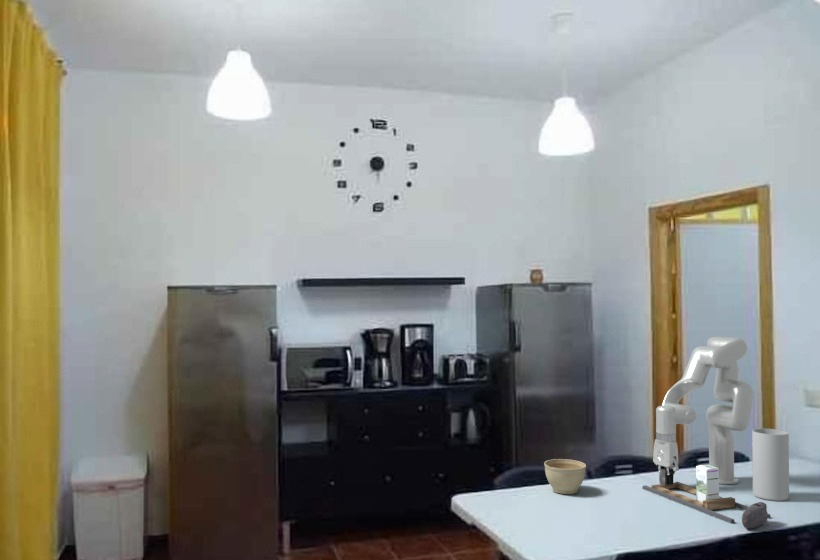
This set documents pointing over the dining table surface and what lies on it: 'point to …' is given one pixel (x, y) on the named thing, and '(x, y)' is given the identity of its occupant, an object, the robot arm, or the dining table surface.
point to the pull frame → (706, 504)
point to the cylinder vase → (770, 464)
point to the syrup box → (707, 482)
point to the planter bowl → (565, 475)
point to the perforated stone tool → (755, 515)
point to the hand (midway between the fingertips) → (666, 482)
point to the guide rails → (696, 505)
